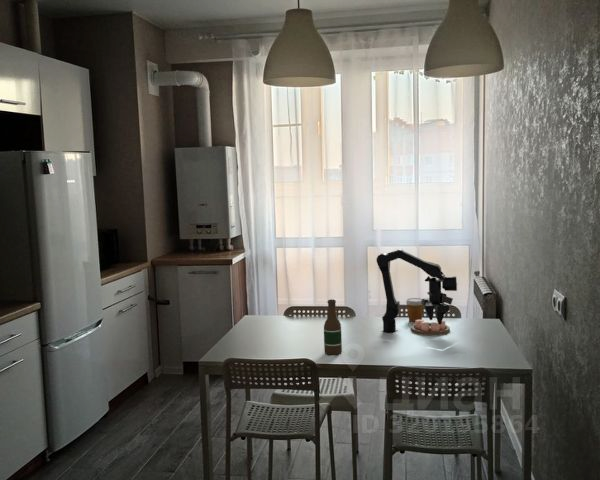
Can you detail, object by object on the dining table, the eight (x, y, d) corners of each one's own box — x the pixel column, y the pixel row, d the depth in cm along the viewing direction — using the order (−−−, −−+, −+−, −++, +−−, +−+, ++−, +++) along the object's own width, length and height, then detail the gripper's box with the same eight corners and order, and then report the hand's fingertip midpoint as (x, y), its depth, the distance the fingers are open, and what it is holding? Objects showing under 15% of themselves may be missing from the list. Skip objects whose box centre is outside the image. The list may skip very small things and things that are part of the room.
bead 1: (433, 334, 290) (433, 324, 289) (429, 332, 294) (429, 322, 293) (441, 333, 291) (440, 323, 290) (437, 331, 295) (437, 321, 294)
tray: (438, 338, 285) (438, 334, 284) (404, 333, 297) (404, 328, 296) (456, 330, 298) (456, 326, 298) (423, 325, 310) (423, 321, 310)
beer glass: (402, 321, 320) (402, 299, 319) (417, 319, 324) (417, 297, 323) (413, 325, 311) (412, 302, 310) (428, 322, 315) (428, 300, 314)
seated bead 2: (426, 334, 291) (426, 324, 290) (419, 333, 293) (419, 322, 293) (430, 332, 294) (430, 322, 293) (423, 331, 296) (423, 321, 296)
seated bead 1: (421, 332, 295) (420, 321, 295) (413, 330, 298) (413, 320, 297) (425, 330, 298) (425, 320, 298) (418, 329, 301) (417, 319, 300)
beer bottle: (331, 349, 272) (329, 297, 270) (345, 352, 267) (344, 299, 265) (320, 354, 266) (319, 300, 264) (335, 357, 261) (333, 302, 259)
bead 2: (444, 332, 293) (444, 322, 293) (436, 331, 294) (436, 321, 294) (445, 330, 297) (445, 320, 296) (437, 329, 298) (437, 319, 298)
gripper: (459, 292, 283) (460, 325, 285) (441, 285, 301) (441, 316, 303) (438, 294, 280) (438, 327, 282) (420, 287, 298) (421, 318, 300)
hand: (435, 322), depth 292 cm, fingers open, 9 cm apart
